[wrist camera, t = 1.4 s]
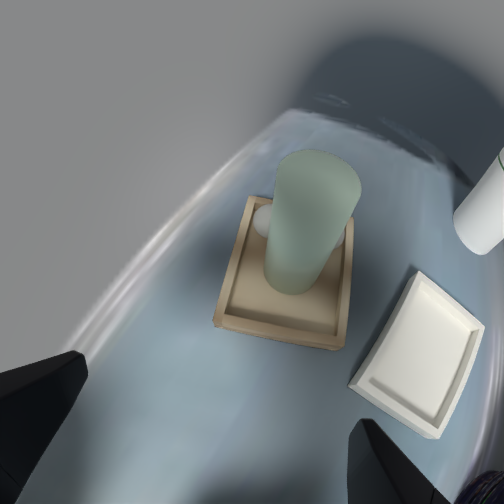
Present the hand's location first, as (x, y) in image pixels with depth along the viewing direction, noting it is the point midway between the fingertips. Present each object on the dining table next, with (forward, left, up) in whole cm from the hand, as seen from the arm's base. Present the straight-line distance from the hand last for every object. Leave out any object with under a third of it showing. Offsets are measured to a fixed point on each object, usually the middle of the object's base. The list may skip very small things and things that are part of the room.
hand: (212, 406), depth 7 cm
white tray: (-8, -15, -14) cm, 22 cm away
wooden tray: (+6, -10, -14) cm, 18 cm away
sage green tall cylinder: (+6, -10, -13) cm, 17 cm away
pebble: (+10, -11, -13) cm, 20 cm away
